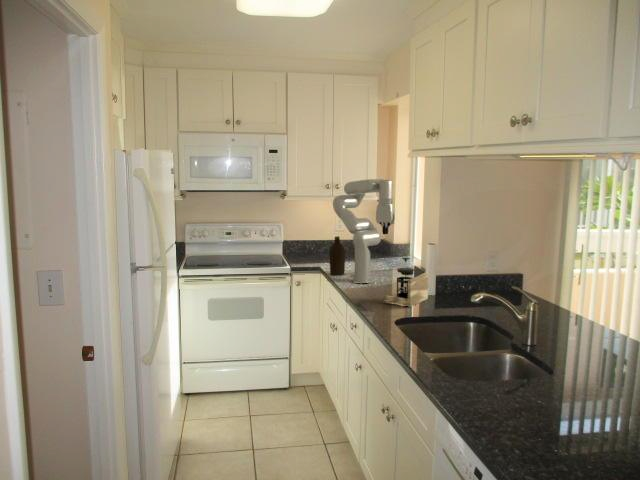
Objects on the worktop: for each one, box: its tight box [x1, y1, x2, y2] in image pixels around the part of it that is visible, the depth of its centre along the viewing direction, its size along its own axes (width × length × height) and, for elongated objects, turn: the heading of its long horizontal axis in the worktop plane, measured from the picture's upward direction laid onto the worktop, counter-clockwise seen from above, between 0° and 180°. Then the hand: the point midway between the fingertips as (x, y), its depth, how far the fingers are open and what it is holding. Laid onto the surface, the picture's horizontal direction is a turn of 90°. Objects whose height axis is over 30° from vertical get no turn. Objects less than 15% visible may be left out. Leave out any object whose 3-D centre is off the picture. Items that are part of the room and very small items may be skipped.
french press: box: [396, 257, 415, 299], centre depth 255 cm, size 12×9×23 cm
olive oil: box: [328, 236, 346, 276], centre depth 321 cm, size 11×11×25 cm
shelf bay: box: [383, 272, 429, 306], centre depth 255 cm, size 15×21×14 cm
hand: (385, 234), depth 277 cm, fingers closed
